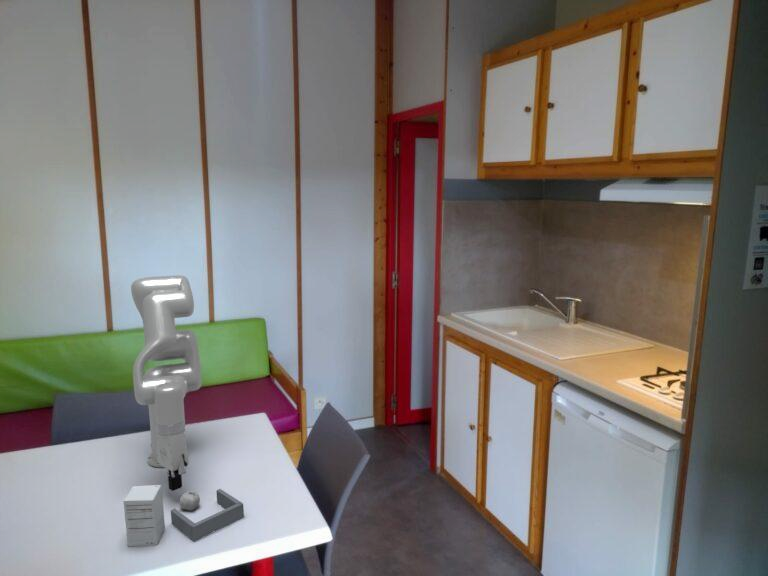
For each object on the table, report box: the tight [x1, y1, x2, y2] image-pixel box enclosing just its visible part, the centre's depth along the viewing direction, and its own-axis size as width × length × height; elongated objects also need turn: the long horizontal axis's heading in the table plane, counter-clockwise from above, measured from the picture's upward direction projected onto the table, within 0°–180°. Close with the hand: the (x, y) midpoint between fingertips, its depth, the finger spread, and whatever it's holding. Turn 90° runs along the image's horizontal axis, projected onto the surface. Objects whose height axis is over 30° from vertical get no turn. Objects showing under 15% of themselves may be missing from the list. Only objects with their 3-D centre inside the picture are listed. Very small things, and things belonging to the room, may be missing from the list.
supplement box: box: [123, 484, 166, 547], centre depth 147 cm, size 7×7×13 cm
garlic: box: [179, 490, 201, 511], centre depth 161 cm, size 6×5×5 cm
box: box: [170, 488, 245, 542], centre depth 155 cm, size 11×15×4 cm
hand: (175, 488), depth 165 cm, fingers closed
